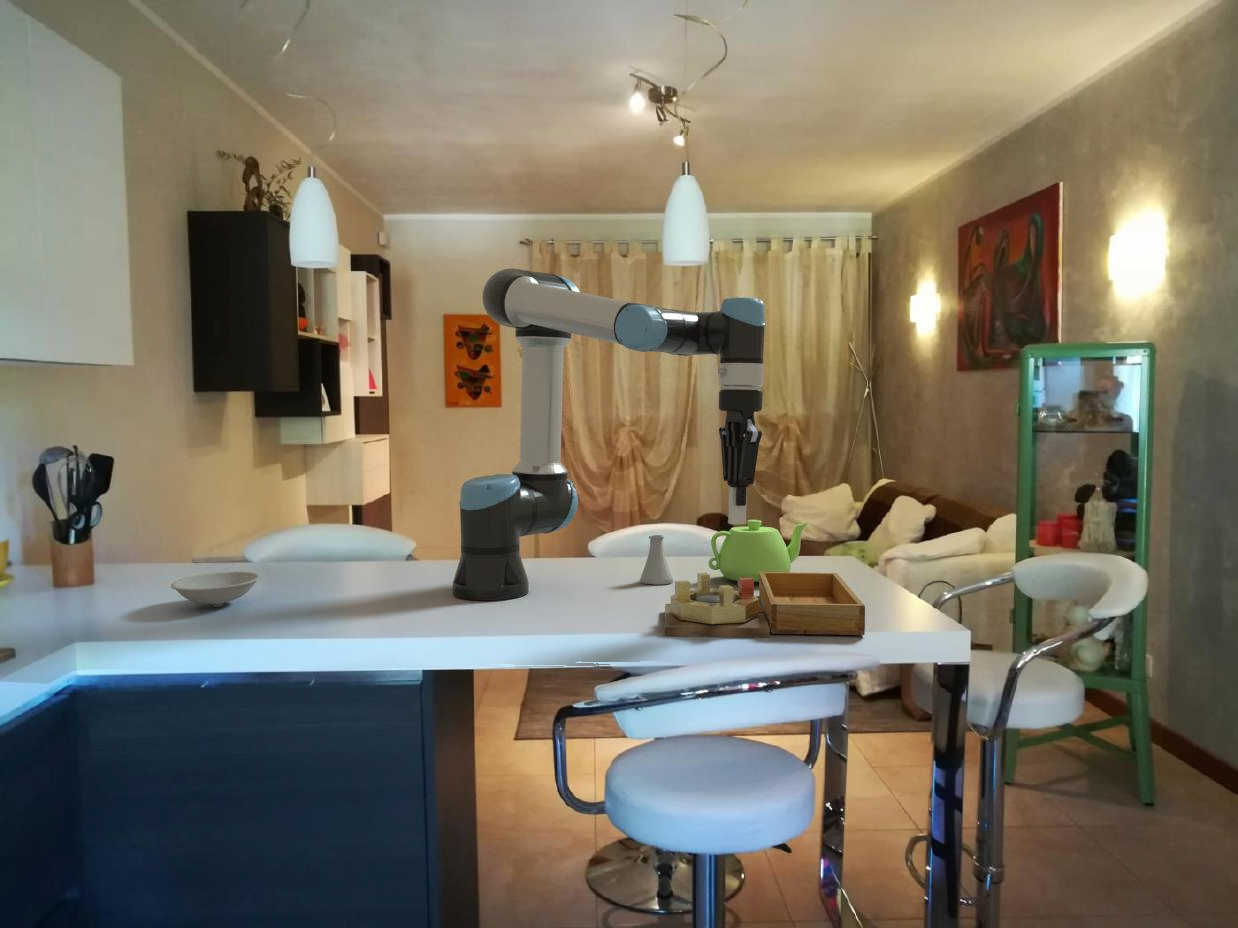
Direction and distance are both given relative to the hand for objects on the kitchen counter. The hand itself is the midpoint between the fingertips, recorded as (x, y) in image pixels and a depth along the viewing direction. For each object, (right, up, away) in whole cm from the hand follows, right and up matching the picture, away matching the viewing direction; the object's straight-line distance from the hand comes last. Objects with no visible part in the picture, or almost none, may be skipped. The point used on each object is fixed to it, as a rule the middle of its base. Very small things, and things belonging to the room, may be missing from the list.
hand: (737, 523), depth 156 cm
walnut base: (-4, -17, -3) cm, 18 cm away
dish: (-96, -17, +11) cm, 98 cm away
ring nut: (-4, -15, -3) cm, 16 cm away
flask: (-13, -15, +33) cm, 39 cm away
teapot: (+9, -15, +35) cm, 39 cm away
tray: (+13, -17, +4) cm, 22 cm away
